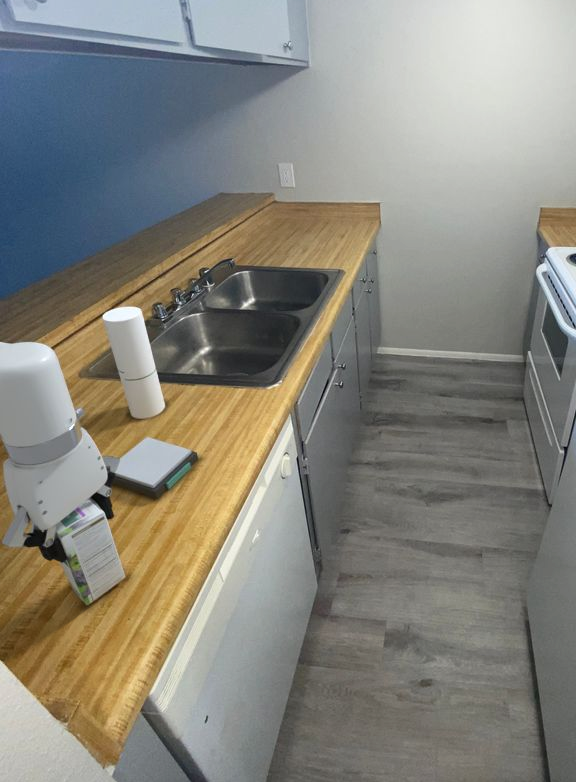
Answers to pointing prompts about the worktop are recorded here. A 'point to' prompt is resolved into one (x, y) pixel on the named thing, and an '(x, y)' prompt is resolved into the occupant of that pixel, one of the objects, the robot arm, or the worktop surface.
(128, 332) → the cylindrical container
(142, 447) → the scale
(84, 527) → the syrup box
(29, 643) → the worktop surface
